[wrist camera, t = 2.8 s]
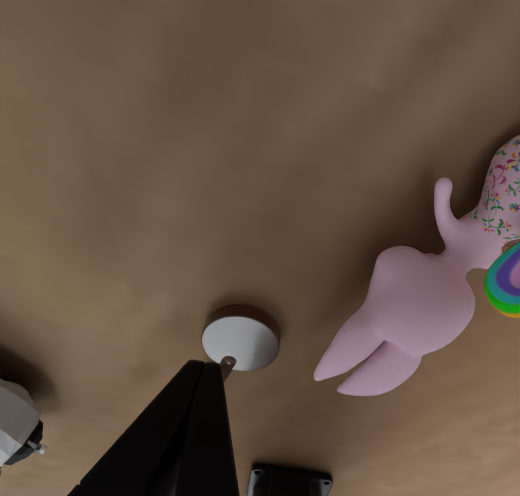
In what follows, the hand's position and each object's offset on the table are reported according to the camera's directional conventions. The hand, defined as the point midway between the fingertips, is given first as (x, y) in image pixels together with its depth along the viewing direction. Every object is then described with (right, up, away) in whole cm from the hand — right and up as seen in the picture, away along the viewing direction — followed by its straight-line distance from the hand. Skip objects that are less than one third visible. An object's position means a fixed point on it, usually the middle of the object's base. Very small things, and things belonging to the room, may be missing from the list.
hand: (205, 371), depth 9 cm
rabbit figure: (+9, +3, +7) cm, 12 cm away
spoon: (-2, -6, +13) cm, 14 cm away
